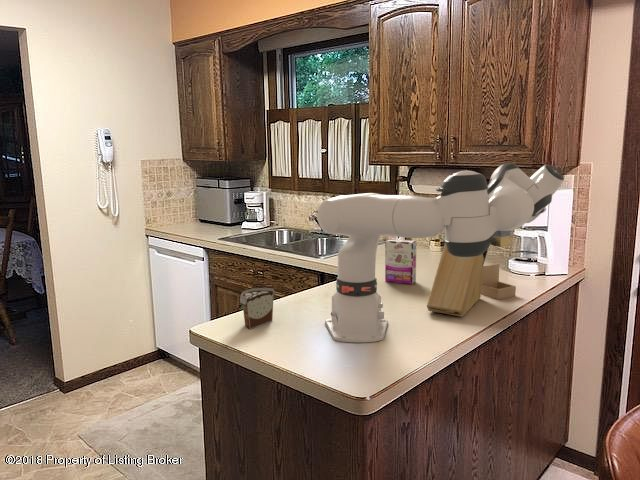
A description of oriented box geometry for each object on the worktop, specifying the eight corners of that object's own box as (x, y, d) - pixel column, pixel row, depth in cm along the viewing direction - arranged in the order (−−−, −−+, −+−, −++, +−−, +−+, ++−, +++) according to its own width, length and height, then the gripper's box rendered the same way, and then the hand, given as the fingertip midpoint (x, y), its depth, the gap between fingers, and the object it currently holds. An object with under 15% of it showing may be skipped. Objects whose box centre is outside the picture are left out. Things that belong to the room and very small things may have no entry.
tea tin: (509, 245, 183) (511, 217, 181) (500, 247, 181) (501, 218, 179) (499, 243, 187) (501, 215, 185) (490, 244, 185) (491, 216, 183)
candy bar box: (416, 282, 205) (417, 240, 202) (412, 285, 201) (413, 242, 198) (389, 278, 210) (389, 238, 207) (384, 281, 206) (385, 240, 203)
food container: (261, 315, 167) (260, 285, 166) (275, 319, 164) (274, 288, 162) (232, 326, 158) (230, 294, 156) (246, 330, 154) (245, 297, 152)
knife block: (488, 292, 190) (492, 206, 185) (461, 320, 161) (465, 220, 155) (457, 288, 196) (460, 205, 190) (425, 315, 166) (428, 217, 161)
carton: (515, 295, 185) (516, 268, 183) (497, 299, 181) (499, 271, 180) (496, 290, 193) (498, 263, 191) (479, 293, 189) (481, 266, 187)
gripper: (506, 214, 167) (481, 240, 177) (549, 209, 176) (524, 234, 186) (495, 198, 170) (472, 225, 180) (539, 195, 179) (515, 220, 189)
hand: (499, 229), depth 183 cm, fingers closed on tea tin, 5 cm apart
